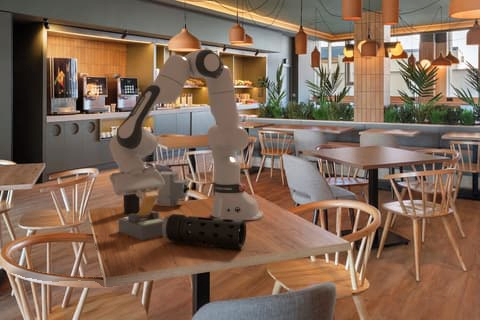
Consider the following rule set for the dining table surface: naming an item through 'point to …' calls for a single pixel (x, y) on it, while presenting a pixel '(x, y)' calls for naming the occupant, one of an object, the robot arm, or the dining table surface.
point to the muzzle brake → (205, 231)
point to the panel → (141, 226)
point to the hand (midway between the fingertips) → (146, 200)
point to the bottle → (131, 204)
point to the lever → (147, 204)
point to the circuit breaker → (172, 189)
